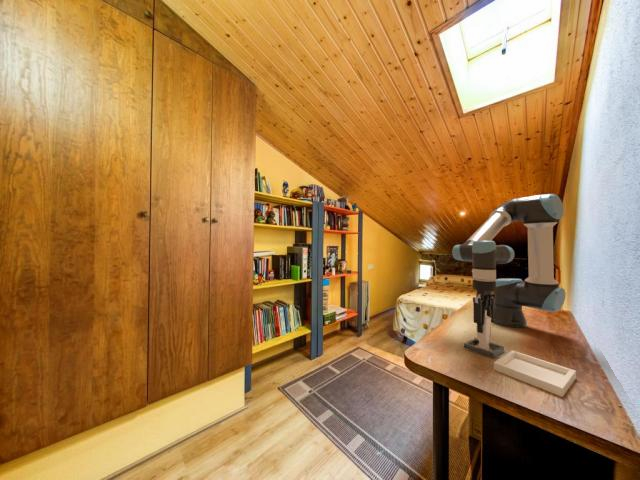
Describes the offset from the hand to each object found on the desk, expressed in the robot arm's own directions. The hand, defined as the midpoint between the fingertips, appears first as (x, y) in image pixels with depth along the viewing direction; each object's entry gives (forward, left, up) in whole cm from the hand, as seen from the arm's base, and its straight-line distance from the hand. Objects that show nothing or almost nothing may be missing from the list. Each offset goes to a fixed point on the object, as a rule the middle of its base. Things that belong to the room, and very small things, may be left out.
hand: (484, 338), depth 90 cm
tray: (+5, +16, -4) cm, 17 cm away
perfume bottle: (0, 0, -4) cm, 4 cm away
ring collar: (0, 0, -4) cm, 4 cm away
